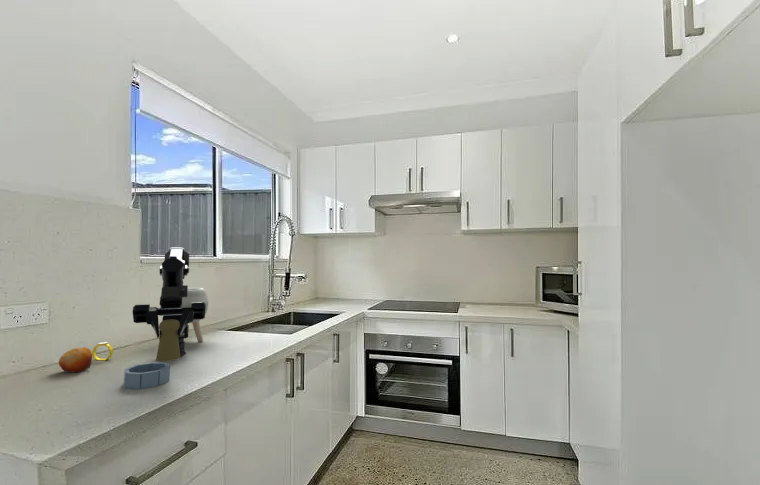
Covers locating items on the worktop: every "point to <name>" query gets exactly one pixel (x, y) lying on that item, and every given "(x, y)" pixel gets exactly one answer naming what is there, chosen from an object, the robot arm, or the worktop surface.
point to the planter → (192, 296)
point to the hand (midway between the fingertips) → (168, 336)
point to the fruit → (76, 360)
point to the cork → (168, 341)
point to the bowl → (146, 375)
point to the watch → (102, 345)
